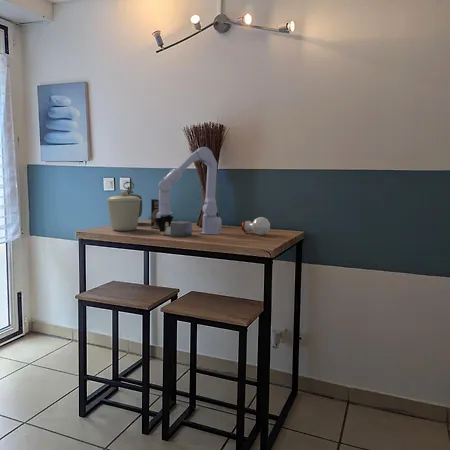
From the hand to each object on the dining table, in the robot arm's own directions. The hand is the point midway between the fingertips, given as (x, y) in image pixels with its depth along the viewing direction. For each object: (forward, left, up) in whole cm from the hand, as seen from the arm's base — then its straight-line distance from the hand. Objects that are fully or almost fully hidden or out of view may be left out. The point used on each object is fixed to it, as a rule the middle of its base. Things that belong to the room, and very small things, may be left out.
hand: (164, 230), depth 215 cm
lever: (-4, 0, -2) cm, 5 cm away
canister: (+26, -5, -2) cm, 27 cm away
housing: (-9, 0, -2) cm, 9 cm away
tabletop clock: (+38, -30, -2) cm, 48 cm away
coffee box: (+12, -20, -2) cm, 23 cm away
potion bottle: (-43, -19, -2) cm, 47 cm away
